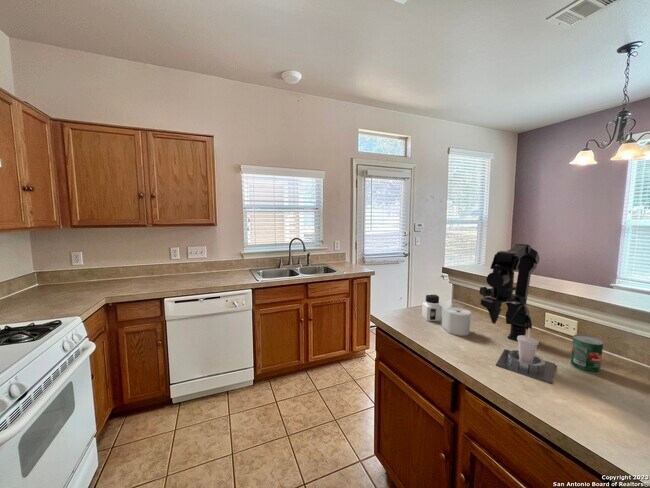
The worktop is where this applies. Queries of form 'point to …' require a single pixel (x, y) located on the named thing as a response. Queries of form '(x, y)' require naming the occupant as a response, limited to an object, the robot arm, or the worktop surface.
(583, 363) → the canned tomato
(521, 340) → the smoothie
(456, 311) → the toilet tissue
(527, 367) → the duct collar
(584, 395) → the worktop surface
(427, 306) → the container
